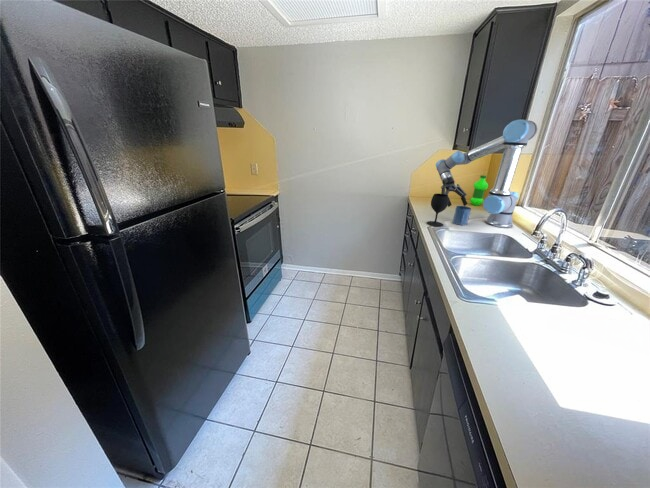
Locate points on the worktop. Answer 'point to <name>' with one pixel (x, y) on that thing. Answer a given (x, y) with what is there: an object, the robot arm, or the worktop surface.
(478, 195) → the plastic bottle
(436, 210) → the wine glass
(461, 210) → the mug
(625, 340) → the worktop surface
